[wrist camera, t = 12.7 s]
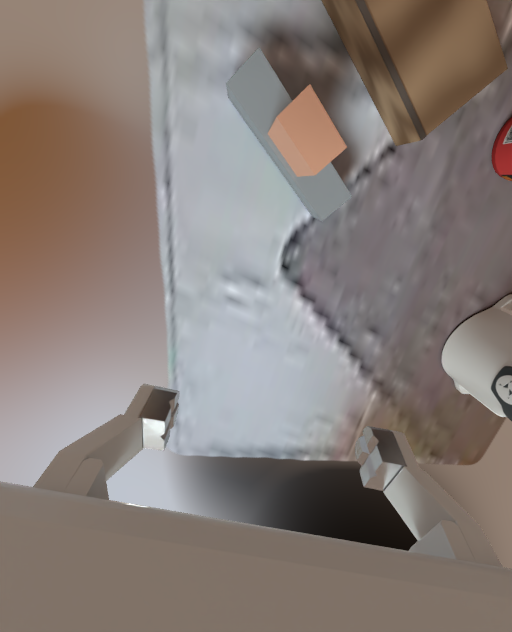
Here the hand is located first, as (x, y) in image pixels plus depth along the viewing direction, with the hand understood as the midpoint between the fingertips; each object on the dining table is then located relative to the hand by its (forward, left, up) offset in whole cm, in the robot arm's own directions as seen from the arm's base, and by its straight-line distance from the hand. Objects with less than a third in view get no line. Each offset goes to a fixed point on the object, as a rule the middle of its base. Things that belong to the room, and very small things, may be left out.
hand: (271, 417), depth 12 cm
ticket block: (-13, -23, -29) cm, 39 cm away
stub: (-3, -13, -29) cm, 31 cm away
